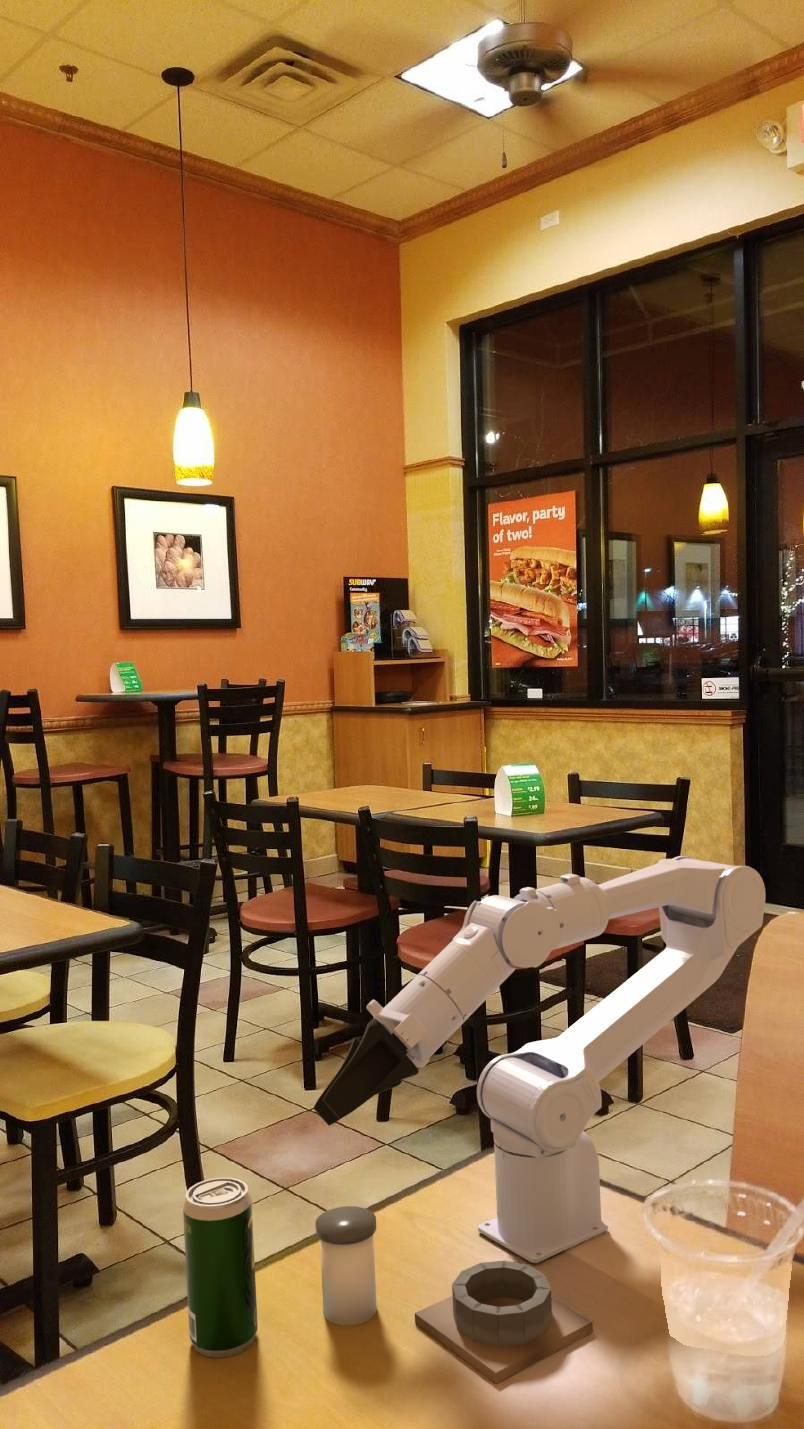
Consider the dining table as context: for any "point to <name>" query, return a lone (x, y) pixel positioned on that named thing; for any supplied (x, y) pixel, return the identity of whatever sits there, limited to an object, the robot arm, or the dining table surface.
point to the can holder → (502, 1318)
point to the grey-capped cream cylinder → (347, 1264)
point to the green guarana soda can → (220, 1267)
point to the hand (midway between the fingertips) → (325, 1113)
